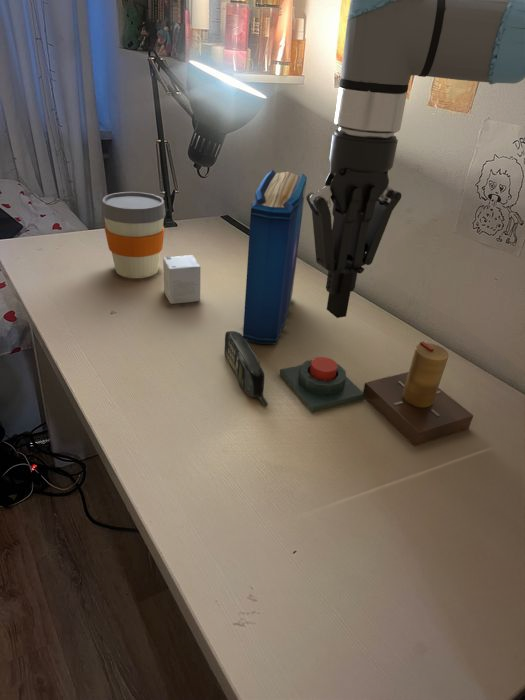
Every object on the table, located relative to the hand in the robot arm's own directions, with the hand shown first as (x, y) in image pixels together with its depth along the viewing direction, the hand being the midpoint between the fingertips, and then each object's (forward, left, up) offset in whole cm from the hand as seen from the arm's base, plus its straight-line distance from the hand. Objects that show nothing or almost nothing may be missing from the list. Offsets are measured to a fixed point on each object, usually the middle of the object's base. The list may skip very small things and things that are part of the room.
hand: (336, 312), depth 71 cm
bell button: (0, 0, -10) cm, 10 cm away
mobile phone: (+10, -6, -13) cm, 18 cm away
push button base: (0, 0, -13) cm, 13 cm away
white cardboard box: (+10, -36, -13) cm, 40 cm away
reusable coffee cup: (+15, -51, -13) cm, 55 cm away
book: (-2, -22, -13) cm, 26 cm away
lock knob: (-10, +10, -10) cm, 17 cm away
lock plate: (-10, +10, -13) cm, 19 cm away
